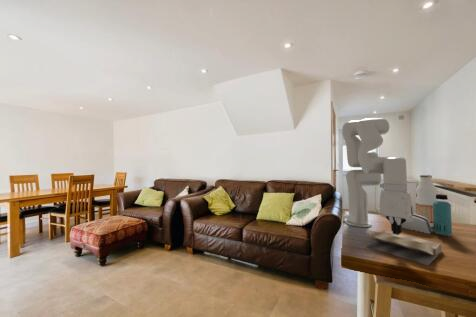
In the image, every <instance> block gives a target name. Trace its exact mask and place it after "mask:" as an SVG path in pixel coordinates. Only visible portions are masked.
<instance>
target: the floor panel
mask: <svg viewBox="0 0 476 317" xmlns="http://www.w3.org/2000/svg"><path fill="white" fill-rule="evenodd" d="M378 232H379V233H384V234H388V235H392V236H396V237H400V238H404V239H408V240H412V241H416V242H420V243H424V244H428V245H429V246H431V247H432V248H434V251H433V255H430V254H427V253H423V252H420V251H416V250H412V249H409V248H405V247H401V246H398V245H394V244H390V243H387V242H383V241H379V240H376V239H374V240H373V241H371V242H370V243H367V244H366V246H365V247H366V248H370V249H372V250H375V251H380V252H382V253H386V254H390V255H392V256H395V257H399V258H402V259H405V260H408V261H411V262H415V263H417V264H421V265H424V266H427V267H428V266H430V264H431V263H433V261H434V260H436V258H437V257H438V256H439V255H441V254H442V243H440V242H436V241H432V240H427V239H423V238H420V237H414V236H410V235H405V234H402V233H400V234H399V235H396V234H393V231H387V230H381V231H378Z"/></svg>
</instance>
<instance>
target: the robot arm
mask: <svg viewBox="0 0 476 317" xmlns="http://www.w3.org/2000/svg"><path fill="white" fill-rule="evenodd" d="M341 129H342V130H341V131H342V138H343V140H344V142H345V143H344V144H345V146H346V159H347V164H348V167H350V168H361V169H350V170H349V171H347V172H346V173H345V179H346V183H347V184H346V185H347V193H348V194H347V195H348V196H347V198H348V214H346V213H343V214H342V218H344V219H347V220H345V222H346V224H347V225H349V226H351V227H357V228H369V227H371V226H372V222H370V221H369V214H368V213H369V212H368V211H369V210H368V193H367V191H366V190H365V189H364V188H363V187H377V186H379V188H382V190H381V191H380V195H379V196H380V197H379V205H378V206H379V208H378V212H379V214H380V217H383V218H384V219H386V220H388V222H389V223H390V228H391V232H393V234H396V235H399V234H402V233H403V228H402V224H403V223H404V222H412V221H413V217H412V216H413V214H414V209H413V201H412V197H411V194H410V191H408V181H407V180H408V176H407V175H408V174H407V173H408V172H407V160H406V158H404V157H402V156H401V157H400V156H399V157H398V156H396V157H395V156H379V154H378V153H377V152H376V151H373V150H376V149H378V148H380V147H381V146H382V145H383V143H384V138H383V137H382V135H386V134H387V133H389V131H390V123H389V121H388V119H386V118H381V117H378V118H377V117H376V118H364V119H360V120H349V121H346V122H345V123H343V125H342V128H341ZM357 136H359V137H357ZM382 175H383V176H382ZM382 177H383V179H382ZM382 180H383V183H382ZM395 217H397V223H396V219H395Z"/></svg>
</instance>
